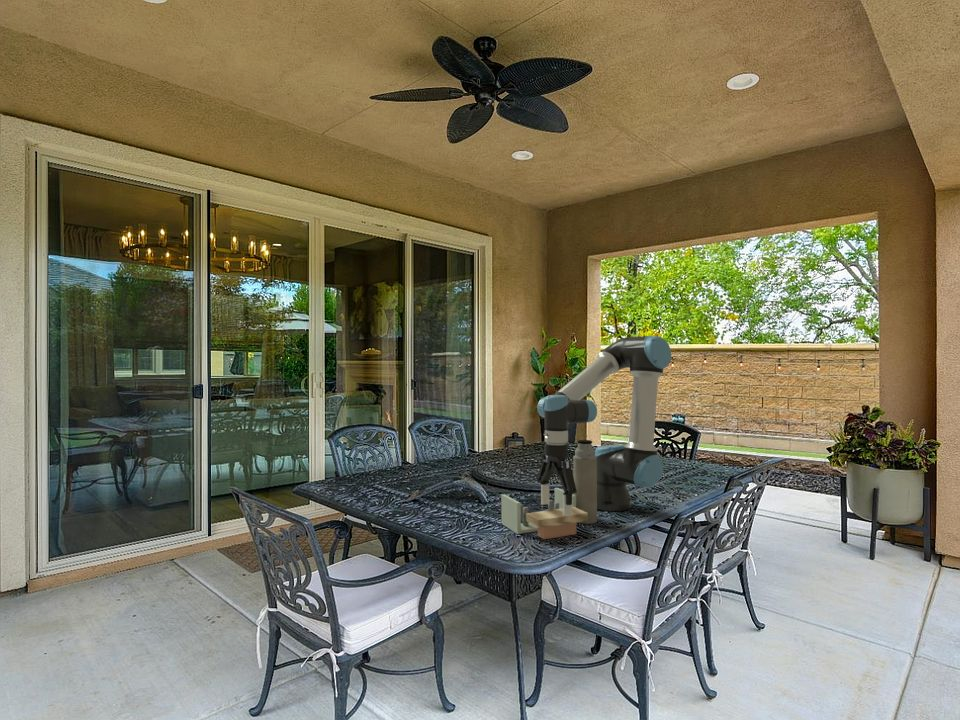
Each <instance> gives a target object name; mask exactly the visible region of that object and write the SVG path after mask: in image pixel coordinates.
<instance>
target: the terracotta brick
mask: <svg viewBox="0 0 960 720" xmlns="http://www.w3.org/2000/svg"><path fill="white" fill-rule="evenodd" d="M572 535H577V522H576V523H569V524H563V525H556V526H550V527H544V528H538V531H537V536H538V537H539V538H540V539H543V540H548V539H556V538H561V537H566V536H567V537H568V536H572Z"/></svg>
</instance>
